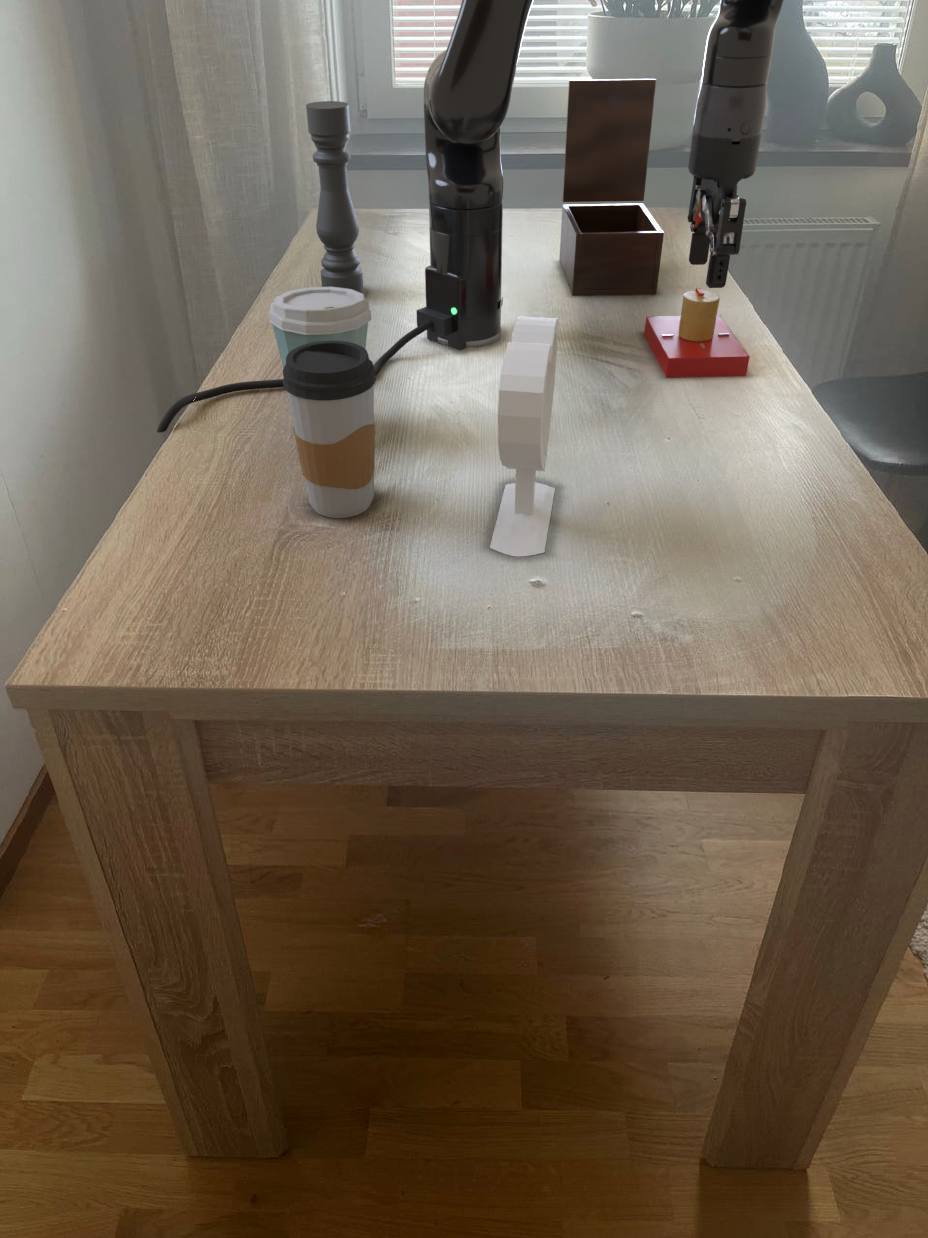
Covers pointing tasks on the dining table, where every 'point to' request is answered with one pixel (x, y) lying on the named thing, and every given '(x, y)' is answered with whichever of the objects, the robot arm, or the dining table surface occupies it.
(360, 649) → the dining table surface
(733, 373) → the panel
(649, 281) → the dark wooden box
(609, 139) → the box lid
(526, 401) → the heart sculpture
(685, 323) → the valve knob
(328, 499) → the coffee cup
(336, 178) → the candle holder
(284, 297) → the disposable coffee cup
